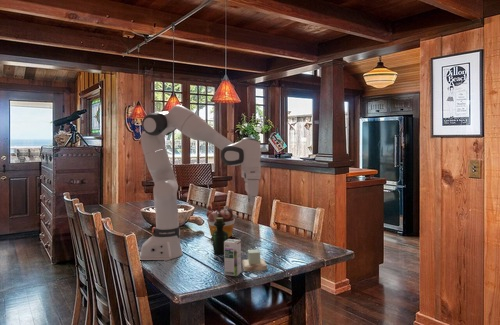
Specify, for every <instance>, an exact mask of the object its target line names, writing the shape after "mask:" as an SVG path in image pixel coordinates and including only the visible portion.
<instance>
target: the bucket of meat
mask: <svg viewBox="0 0 500 325" xmlns="http://www.w3.org/2000/svg"><path fill="white" fill-rule="evenodd" d="M210 204H211V206H210V205H208V206H207V212H206V217H207V219H206V223H207V225H208V229H209V232H210V237H212V234H213V233H214V232H215V231H217V228H216V226H214V223H215V222H216V218H218V217H222V218H223V222H225V224H226V225H224V226H223V231H225V232H227V233H228V239H230V237H231V236H232V235H233V231H234V226H235V221H236V218H238V215H237V214H233V213H234V212H233V209H232V208H229V207H230V206H229V205H228V204H226V205H225V206H223V208H221V205H220V203H219V202H217V203H215V201H211V203H210Z"/></svg>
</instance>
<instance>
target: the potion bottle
mask: <svg viewBox="0 0 500 325" xmlns="http://www.w3.org/2000/svg"><path fill="white" fill-rule="evenodd" d="M224 225H226V224H225V222H223V218H222V217H218V218H216V222H215V223H214V226H216V228H217V231H215V232H214V233H213V234H212V236H211V240H212V246H213V247H212V248H213V254H214V255H216V256H224V242H225V241H226V240H228V239H229V238H228V233H227V232H225V231H223V226H224Z"/></svg>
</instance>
